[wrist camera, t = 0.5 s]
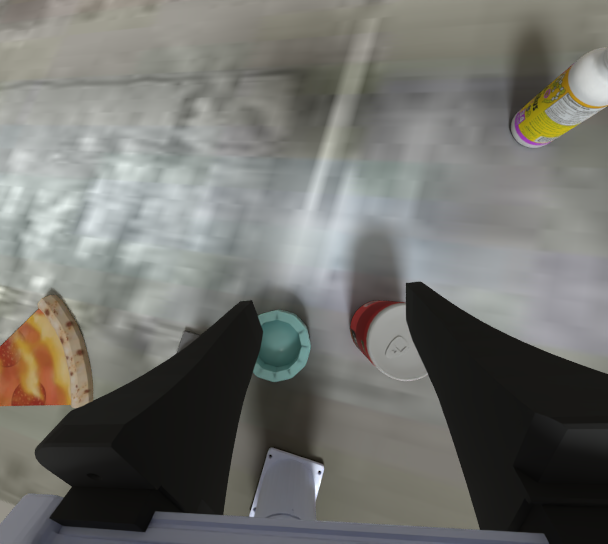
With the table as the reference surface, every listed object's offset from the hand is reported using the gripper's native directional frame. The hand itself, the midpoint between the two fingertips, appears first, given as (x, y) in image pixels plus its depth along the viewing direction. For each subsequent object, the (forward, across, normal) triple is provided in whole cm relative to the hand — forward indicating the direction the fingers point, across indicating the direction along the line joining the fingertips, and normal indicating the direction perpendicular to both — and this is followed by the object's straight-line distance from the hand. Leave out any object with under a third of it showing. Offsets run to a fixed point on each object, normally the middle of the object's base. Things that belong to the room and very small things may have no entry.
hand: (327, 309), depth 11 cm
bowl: (+16, +10, +17) cm, 26 cm away
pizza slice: (+13, +47, +12) cm, 50 cm away
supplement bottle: (+38, -32, -2) cm, 49 cm away
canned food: (+19, -4, +18) cm, 26 cm away
